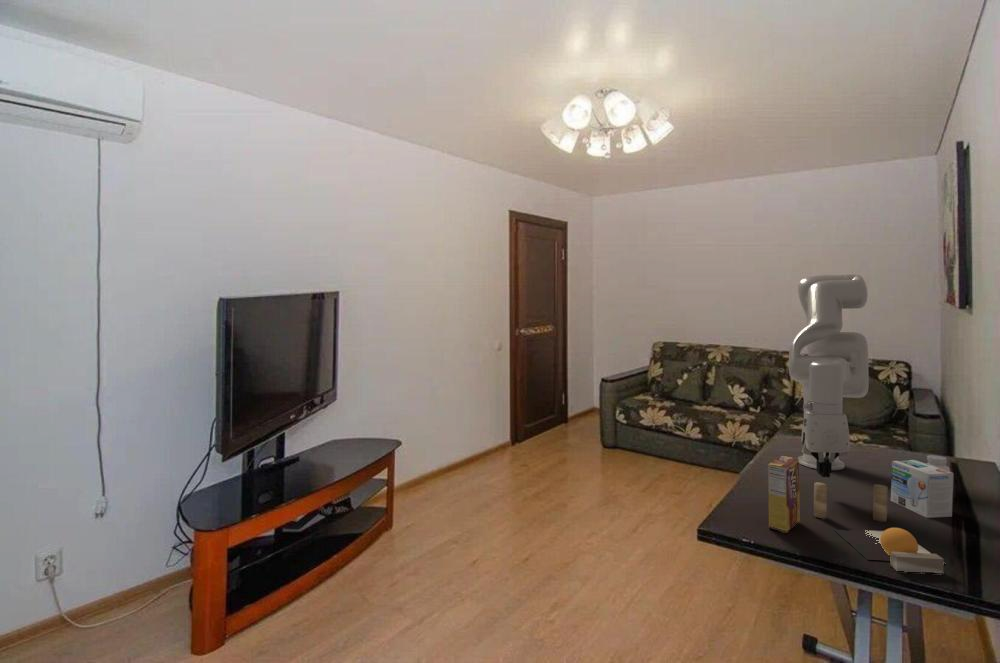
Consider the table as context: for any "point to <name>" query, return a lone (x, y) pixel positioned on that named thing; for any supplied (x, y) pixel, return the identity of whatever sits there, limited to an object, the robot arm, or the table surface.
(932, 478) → the light bulb box
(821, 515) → the post
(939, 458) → the supplement bottle
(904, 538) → the ball
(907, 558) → the stopper wall
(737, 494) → the table surface
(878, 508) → the post
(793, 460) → the candy box
